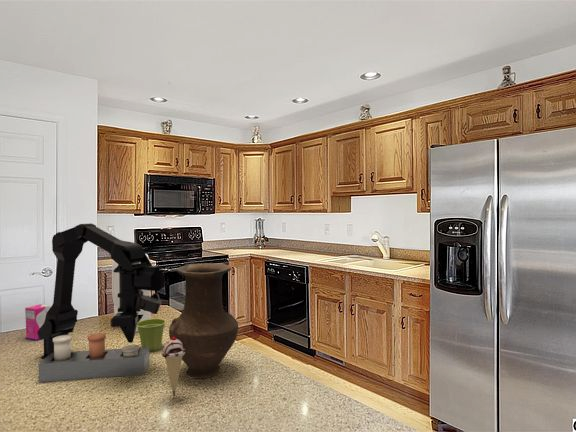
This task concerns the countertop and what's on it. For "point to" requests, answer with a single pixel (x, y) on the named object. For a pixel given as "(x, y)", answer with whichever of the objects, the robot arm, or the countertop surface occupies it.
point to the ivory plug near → (62, 347)
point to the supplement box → (35, 320)
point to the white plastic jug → (117, 300)
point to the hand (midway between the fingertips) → (130, 342)
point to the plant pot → (151, 333)
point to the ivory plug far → (130, 350)
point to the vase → (204, 320)
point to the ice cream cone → (173, 359)
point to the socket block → (93, 365)
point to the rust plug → (97, 345)
